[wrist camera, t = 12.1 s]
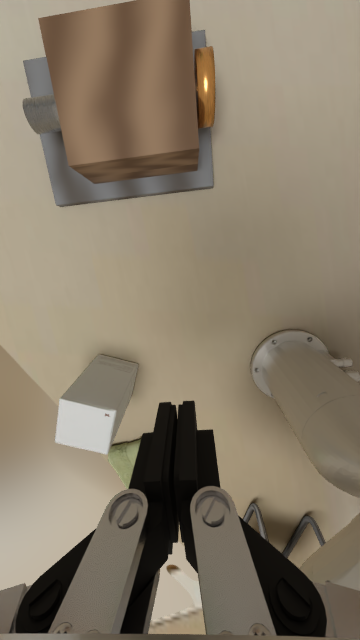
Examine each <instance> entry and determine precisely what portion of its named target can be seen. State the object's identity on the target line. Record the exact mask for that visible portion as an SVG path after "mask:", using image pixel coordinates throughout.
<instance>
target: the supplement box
mask: <svg viewBox="0 0 360 640" xmlns="http://www.w3.org/2000/svg"><path fill="white" fill-rule="evenodd" d="M137 369H138V364H136V363H133V362H129V361H125V360H121V359H117V358H113V357H109V356H105V355H100V354H99V355H98V356H97V357H96V358H95V359H94V360H93V361H92V362H91V363H90V365H89V366H88V367H87V368H86V369H85V370H84V372H83V373H82V374H81V375H80V376H79V377H78V378H77V380H76V381H75V382H74V383H73V384H72V385H71V386H70V388H69V389H68V390H67V391H66V392H65V393H64V394H63V396H62V397H61V398H60V400H59V409H58V419H57V427H56V436H55V443H60V444H64V445H68V446H72V447H76V448H81V449H86V450H90V451H94V452H98V453H102V454H106V455H107V454H108V452H109V450H110V448H111V445H112V443H113V441H114V438H115V436H116V433H117V431H118V428H119V426H120V423H121V421H122V418H123V416H124V413H125V411H126V408H127V406H128V404H129V401H130V399H131V396H132V392H133V388H134V383H135V378H136V374H137Z"/></svg>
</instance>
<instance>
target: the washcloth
mask: <svg viewBox="0 0 360 640" xmlns="http://www.w3.org/2000/svg"><path fill="white" fill-rule="evenodd" d="M140 442H141V439H140V440H138V441H133V442H131V443H123V444H120V445H114V446H111V448H110V450H109V452H108V461H109V463H110V464H111V466H112V467H113V468H114V470H115V471H116V472H117V474H118V476H119V477H120V479H121V481H122V482H123V484H124V485H125V487H126V489H128V488H129V484H130V480H131V476H132V472H133V469H134V465H135V461H136V457H137V453H138V449H139V446H140Z"/></svg>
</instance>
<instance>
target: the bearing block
mask: <svg viewBox="0 0 360 640" xmlns="http://www.w3.org/2000/svg"><path fill="white" fill-rule="evenodd" d="M38 19H39V24H40V29H41V34H42V38H43V43H44V48H45V53H46V57H42V58H36V59H31V60H25V61H23V63H24V67H25V72H26V76H27V81H28V85H29V89H30V94H31V98H32V97H38V96H45V95H51V94H54V97H55V102H56V106H57V111H58V116H59V121H60V126H61V131H58V132H51V133H45V134H40V137H41V142H42V146H43V151H44V155H45V159H46V164H47V168H48V172H49V177H50V181H51V186H52V190H53V194H54V199H55V203H56V205H57V206H60V207H64V206H72V205H80V204H88V203H96V202H104V201H112V200H120V199H129V198H137V197H145V196H153V195H161V194H169V193H177V192H185V191H193V190H202V189H210V188H213V169H212V151H211V132H210V127H206V128H199V129H198V122H197V107H196V92H195V77H194V52H195V49H198V48H204V47H206V39H205V30H201V31H195V32H192V31H191V16H190V1H189V0H136V1H131V2H125V3H120V4H114V5H109V6H103V7H98V8H92V9H87V10H81V11H76V12H70V13H65V14H59V15H54V16H48V17H43V18H38Z"/></svg>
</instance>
